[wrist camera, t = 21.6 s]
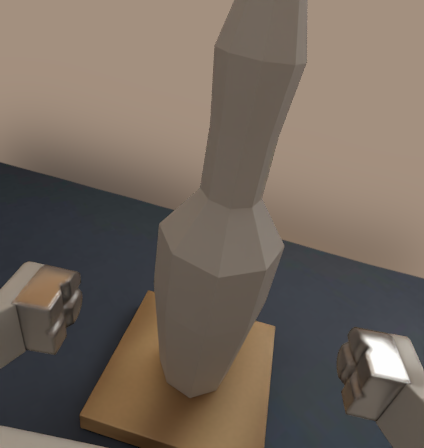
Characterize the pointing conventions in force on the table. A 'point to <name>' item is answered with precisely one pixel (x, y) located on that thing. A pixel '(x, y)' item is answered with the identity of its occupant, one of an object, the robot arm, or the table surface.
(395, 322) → the table surface
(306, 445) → the table surface
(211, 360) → the low poly bottle
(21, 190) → the table surface
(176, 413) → the coaster
